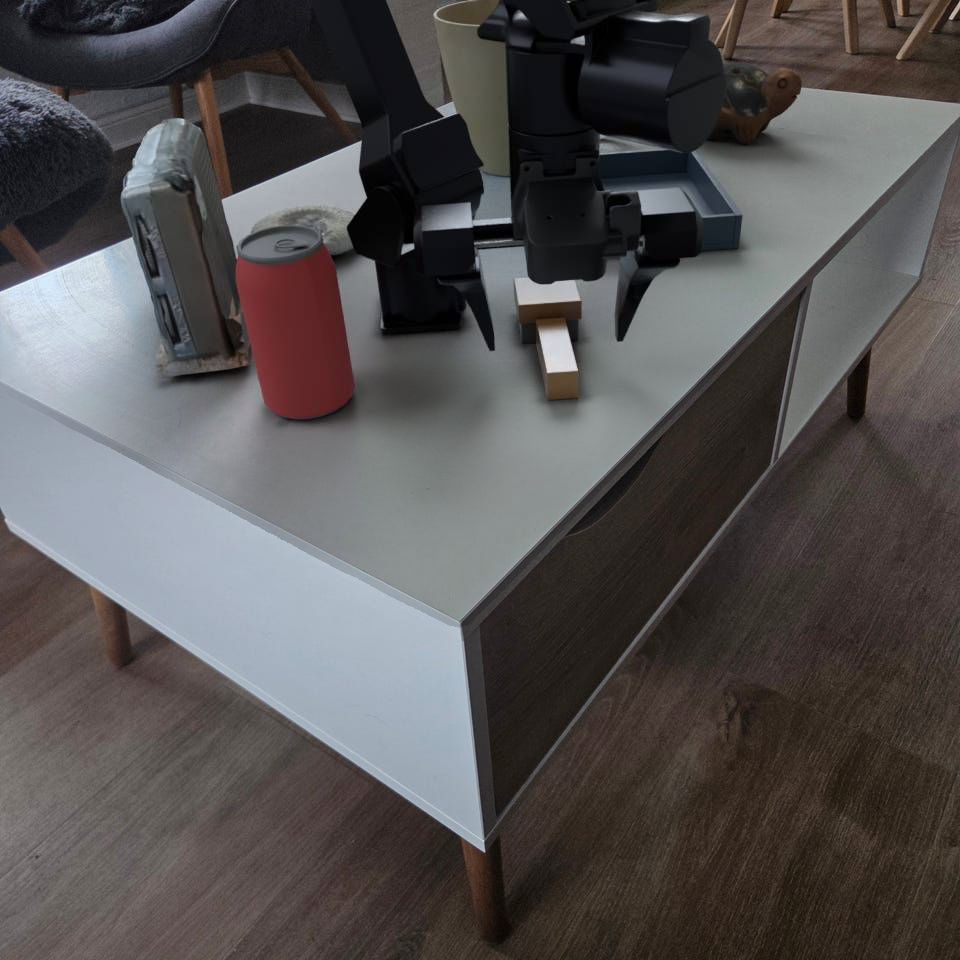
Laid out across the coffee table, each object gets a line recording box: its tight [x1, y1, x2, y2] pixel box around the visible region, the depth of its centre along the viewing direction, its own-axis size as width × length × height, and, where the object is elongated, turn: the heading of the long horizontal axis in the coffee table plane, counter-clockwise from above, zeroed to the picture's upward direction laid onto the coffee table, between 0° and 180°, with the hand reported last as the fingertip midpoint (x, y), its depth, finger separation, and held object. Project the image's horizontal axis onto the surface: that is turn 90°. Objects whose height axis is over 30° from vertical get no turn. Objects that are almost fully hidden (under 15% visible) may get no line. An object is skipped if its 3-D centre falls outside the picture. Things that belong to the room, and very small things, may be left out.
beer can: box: [235, 225, 356, 420], centre depth 63 cm, size 7×7×12 cm
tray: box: [599, 148, 744, 252], centre depth 90 cm, size 13×19×3 cm
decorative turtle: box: [707, 62, 803, 146], centre depth 106 cm, size 10×15×8 cm, turn 62°
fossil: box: [249, 204, 355, 256], centre depth 87 cm, size 11×4×10 cm
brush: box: [512, 276, 583, 401], centre depth 69 cm, size 13×5×3 cm, turn 3°
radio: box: [120, 117, 252, 379], centre depth 74 cm, size 23×9×15 cm, turn 5°
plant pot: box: [433, 0, 570, 177], centre depth 100 cm, size 15×15×16 cm
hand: (555, 343), depth 67 cm, fingers open, 9 cm apart
